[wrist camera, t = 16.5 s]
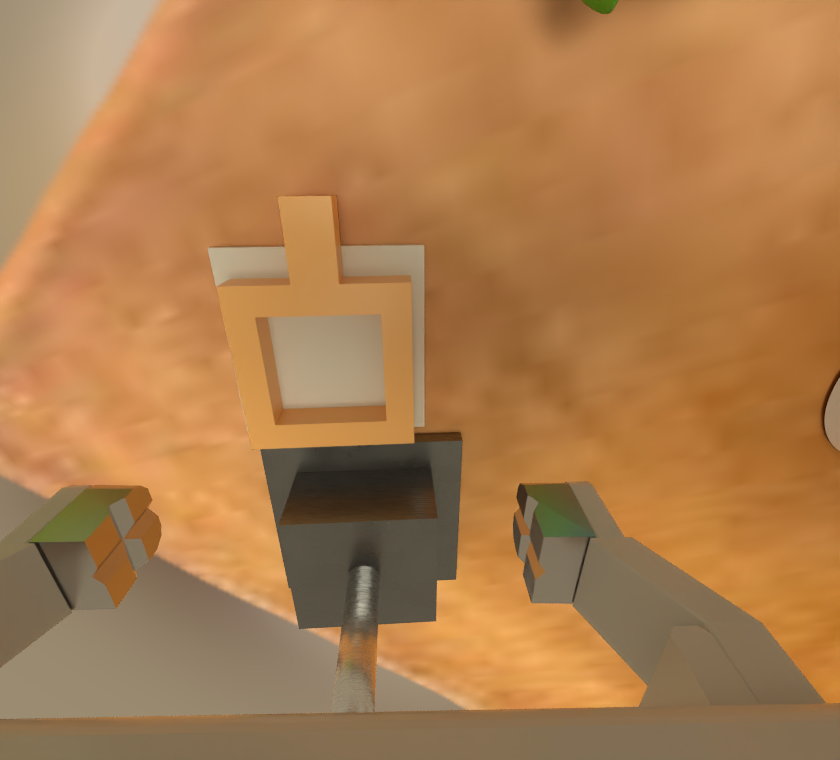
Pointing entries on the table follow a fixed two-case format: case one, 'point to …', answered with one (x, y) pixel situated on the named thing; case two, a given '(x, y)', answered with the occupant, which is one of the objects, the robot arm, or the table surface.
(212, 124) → the table surface
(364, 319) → the mat
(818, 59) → the table surface
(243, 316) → the orange handled frame
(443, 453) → the stand
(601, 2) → the snack cup
